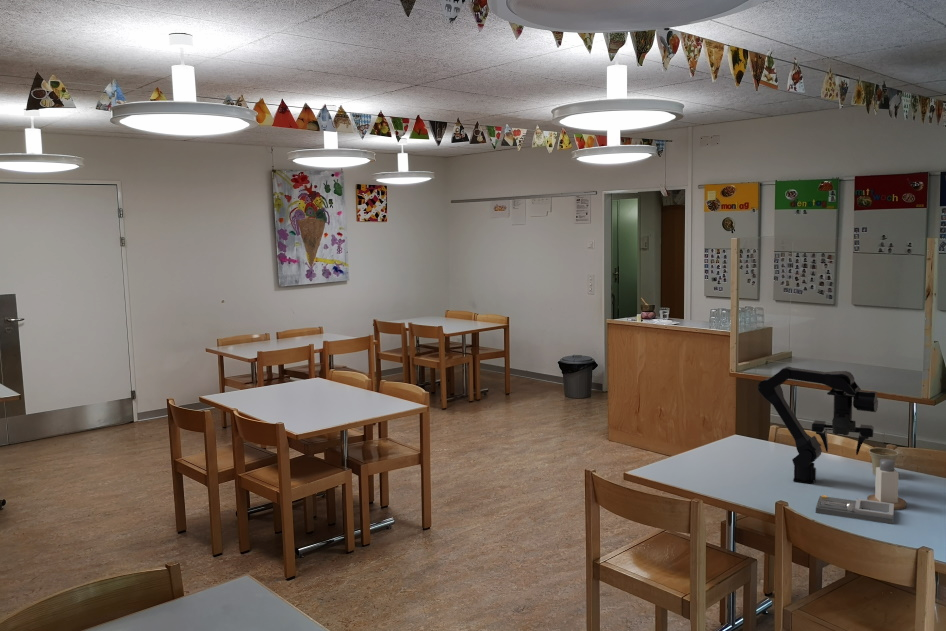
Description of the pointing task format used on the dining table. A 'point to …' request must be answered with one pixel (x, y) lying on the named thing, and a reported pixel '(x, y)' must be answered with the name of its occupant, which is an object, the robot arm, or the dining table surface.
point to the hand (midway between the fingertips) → (841, 453)
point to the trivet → (897, 506)
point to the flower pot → (881, 456)
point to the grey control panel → (858, 509)
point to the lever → (837, 504)
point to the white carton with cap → (886, 482)
